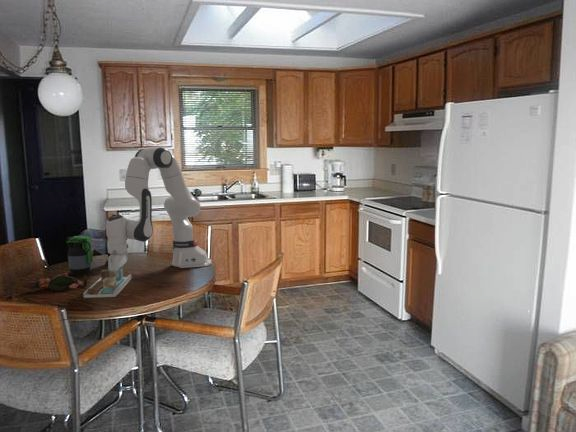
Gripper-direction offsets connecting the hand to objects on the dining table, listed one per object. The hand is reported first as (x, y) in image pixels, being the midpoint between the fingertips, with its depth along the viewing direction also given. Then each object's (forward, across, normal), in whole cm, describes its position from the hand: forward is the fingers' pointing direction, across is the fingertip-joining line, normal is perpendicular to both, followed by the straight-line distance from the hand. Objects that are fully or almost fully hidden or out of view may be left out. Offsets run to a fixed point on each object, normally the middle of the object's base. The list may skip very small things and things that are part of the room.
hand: (118, 275), depth 227 cm
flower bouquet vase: (+4, +37, +11) cm, 39 cm away
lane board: (+4, -6, +3) cm, 8 cm away
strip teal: (+3, -9, 0) cm, 9 cm away
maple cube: (+2, -14, 0) cm, 15 cm away
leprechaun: (+5, -6, +26) cm, 27 cm away
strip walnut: (+3, -9, +7) cm, 11 cm away
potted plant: (+4, +21, +25) cm, 33 cm away
